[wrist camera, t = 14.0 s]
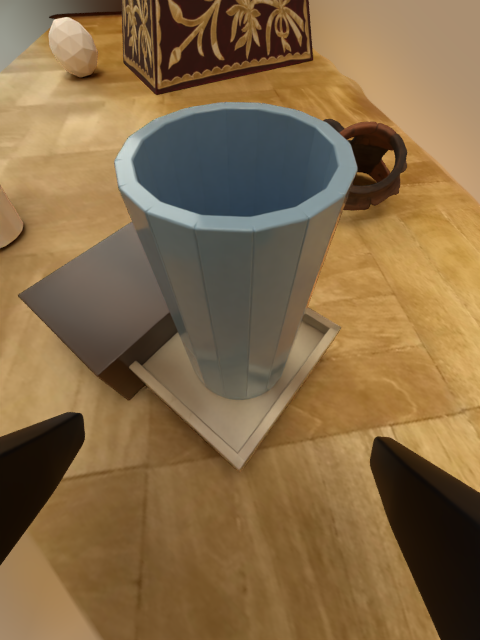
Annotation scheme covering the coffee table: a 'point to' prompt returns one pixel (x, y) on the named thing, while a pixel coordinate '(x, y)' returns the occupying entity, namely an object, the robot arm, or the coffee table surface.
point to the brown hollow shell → (373, 161)
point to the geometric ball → (73, 47)
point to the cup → (8, 220)
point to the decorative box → (212, 39)
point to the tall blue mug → (236, 229)
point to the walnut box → (160, 343)
